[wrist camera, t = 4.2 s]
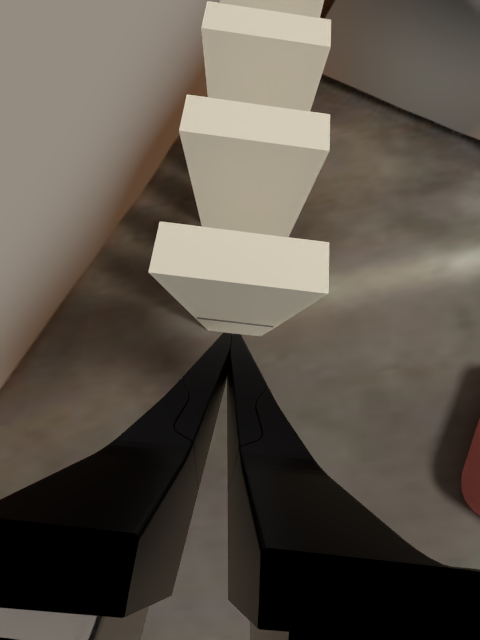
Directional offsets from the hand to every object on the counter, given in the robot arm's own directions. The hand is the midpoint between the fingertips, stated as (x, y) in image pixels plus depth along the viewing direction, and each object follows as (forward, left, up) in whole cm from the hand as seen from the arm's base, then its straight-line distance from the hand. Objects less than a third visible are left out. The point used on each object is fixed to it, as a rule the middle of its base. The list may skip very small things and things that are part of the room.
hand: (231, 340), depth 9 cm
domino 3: (+10, +7, -8) cm, 14 cm away
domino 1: (+2, +1, -8) cm, 8 cm away
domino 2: (+6, +4, -8) cm, 11 cm away
